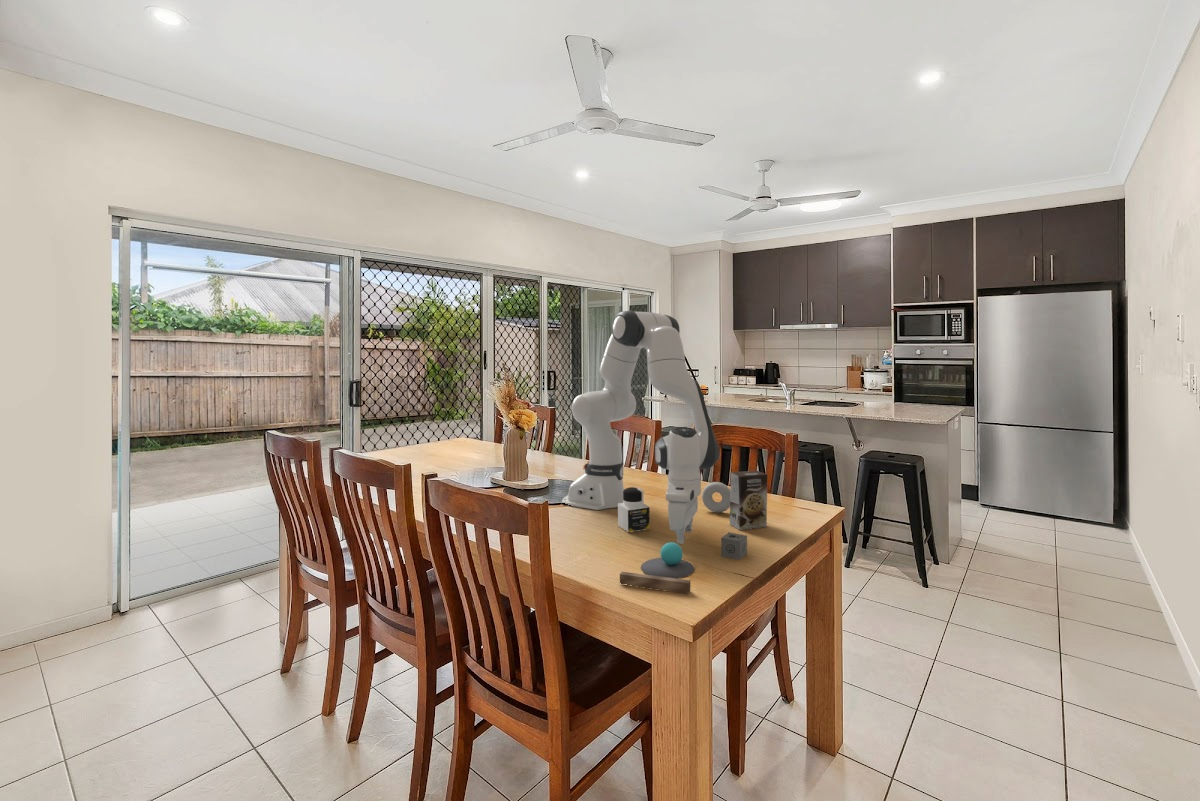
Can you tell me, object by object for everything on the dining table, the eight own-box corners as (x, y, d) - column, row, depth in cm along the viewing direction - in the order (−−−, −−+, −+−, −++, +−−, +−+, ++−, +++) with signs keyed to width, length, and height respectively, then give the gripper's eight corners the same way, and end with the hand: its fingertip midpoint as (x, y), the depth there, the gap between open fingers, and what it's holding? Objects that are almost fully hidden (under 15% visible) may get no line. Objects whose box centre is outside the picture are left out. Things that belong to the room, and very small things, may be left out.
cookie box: (739, 530, 169) (740, 476, 167) (729, 524, 175) (729, 471, 173) (767, 527, 171) (768, 474, 170) (756, 521, 177) (756, 469, 176)
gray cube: (728, 550, 153) (728, 532, 153) (746, 554, 151) (747, 535, 150) (721, 556, 149) (721, 537, 149) (740, 560, 147) (740, 541, 146)
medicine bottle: (628, 533, 169) (627, 492, 167) (617, 526, 175) (617, 487, 174) (649, 529, 171) (649, 489, 170) (638, 523, 178) (638, 484, 177)
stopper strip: (619, 584, 133) (619, 574, 133) (622, 581, 134) (621, 571, 134) (688, 594, 127) (688, 583, 127) (690, 591, 129) (690, 580, 129)
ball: (657, 544, 142) (663, 539, 148) (658, 567, 143) (663, 561, 148) (680, 546, 141) (684, 540, 146) (680, 568, 141) (684, 562, 146)
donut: (733, 512, 187) (733, 482, 186) (731, 515, 184) (731, 484, 182) (703, 509, 191) (703, 479, 190) (700, 512, 188) (700, 481, 187)
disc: (634, 575, 138) (634, 574, 138) (649, 555, 150) (649, 555, 150) (688, 582, 134) (688, 581, 134) (698, 561, 146) (698, 560, 146)
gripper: (681, 478, 168) (681, 524, 170) (664, 496, 149) (664, 548, 151) (702, 479, 166) (703, 526, 168) (688, 497, 147) (688, 550, 148)
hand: (684, 537), depth 159 cm, fingers open, 8 cm apart
